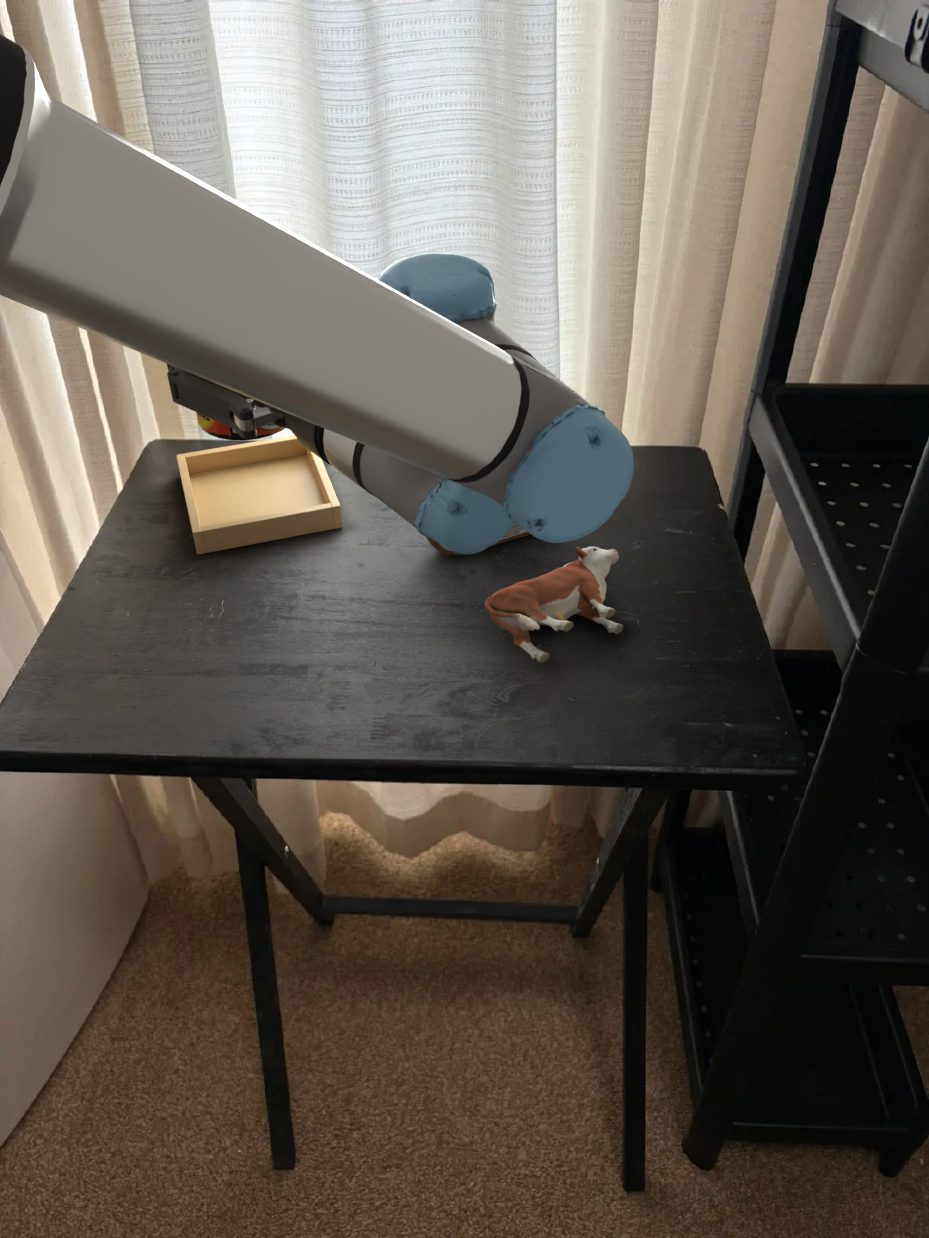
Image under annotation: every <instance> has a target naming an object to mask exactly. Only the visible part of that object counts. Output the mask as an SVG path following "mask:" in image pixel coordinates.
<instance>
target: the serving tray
mask: <svg viewBox="0 0 929 1238" xmlns="http://www.w3.org/2000/svg"><path fill="white" fill-rule="evenodd" d="M175 457H176V462H177V465H178V470H179V476H180V480H181V485H182V490H183V494H184V498H185V503H186V508H187V514H188V518H189V523H190V527H191V531H192V537H193V540H194V545H195V551H196V554H197V555H202V554H203V555H204V554H208V553H214V552H220V551H224V550H230V549H235V548H239V547H245V546H251V545H256V544H262V543H266V542H271V541H278V540H283V539H287V538H293V537H299V536H303V535H310V534H314V533H319V532H324V531H330V530H335V529H341V528H343V517H342V509H341V507H342V506H341V504H340V501H339V499H338V496H337V495H336V491H335V489H334V486H333V484H332V482H331V479H330V476H329V473H328V472H327V469H326V466H325V464H324V460H322V459H321V458H319V457H318V456H317V455H315V454H314V453H313V452H311V451H310V450H308V449H307V448H306V447H305V446H303V445H302V444H301V442H300V441H299V440H298V439H297V437H296V436H295V435H294V434H292V435H287V436H280V437H274V438H270V439H263V440H257V441H251V442H244V443H239V444H233V445H227V446H221V447H214V448H208V449H203V450H197V451H196V450H195V451H191V452H184V453H179V454H175Z"/></svg>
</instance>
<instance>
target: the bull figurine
mask: <svg viewBox="0 0 929 1238" xmlns="http://www.w3.org/2000/svg"><path fill="white" fill-rule="evenodd" d="M575 550H576V554H577V557H578V559H577V560H574V561H570V562H568V563H566V564H564V565H563V566H560V567H557V568H555V569H553V570H551V571H550V572H548V573H544V574H541V575H539V576H537V577H534V578H531V579H526V580H521V581H517V582H515V583H514V584H512V585H509V586H507V587H504V588H501V589H499V590H497V591H496V592H495V593H493V594H491V595H490V596H489V597H487V599H486V600H485V602H484V608H485V610H486V611H487V612H488V613H489V616H490V618H491V620H492V621H493V622H494V623H495V625H496V626H498V627H500V628H501V629H503V630H505V631H506V632H507V633H509V634H510V633H511V634H512V637H513V643H514V645H515V646H518V647H519V648H521V649H522V650H524V651H525V652H526V653H527V654H529V655H530V657H531V659H532V660H535V659H536V661H538V662H540V663H544V662H546V661H548V659H549V658H550V653H548V652H547V651H545V650H541V649H539V648H538V647H536V646H535V645H534V644H533V642H531V635H530V631H534V630H538V631H539V630H540V629H541V626H549V627H551V629H553V630H554V631H555V632H559V630H560V631H562V632H565V633H566V632H567V633H568V632H569V631H570V630H572V628H573V627H574V622H572V621H569V620H568V619H569V618H570V617H572V616H574V615H578V616H580V617H584V618H586V619H589V620H590V621H593V622H594V623H596V624H599V625H602V626H604V627H605V628H606V630H607V632H608V633H609V634H615V635H619V634H620V633H621V632H622V631H623V629H624V625H623V624H622V623H619V622H618V623H617V622H615V621H612V620H609V619H611V618H612V617H613V616H614V615H615V614H616V609H615V608H613V607H609V606H606V605H603V603H604V602H605V600H606V594H607V582H606V577H607V576H608V575H609V573H610V570H611V565H615V564H616V563H617V562H618V561H619V558H620V556H619V553H618V551H617V550H616V549H615V548H611V549H604V548H603V549H602V548H600V547H598V546H587V547H582V548H580V547H579V546H575Z"/></svg>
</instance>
